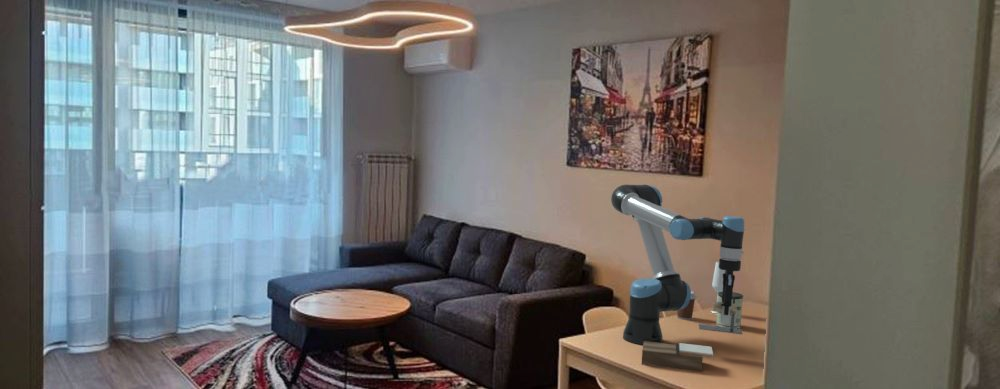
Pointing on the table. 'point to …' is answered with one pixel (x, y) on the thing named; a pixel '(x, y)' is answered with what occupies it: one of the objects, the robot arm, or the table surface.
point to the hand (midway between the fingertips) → (724, 321)
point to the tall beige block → (718, 308)
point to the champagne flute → (718, 280)
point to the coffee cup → (687, 309)
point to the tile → (695, 350)
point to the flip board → (669, 357)
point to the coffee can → (737, 319)
